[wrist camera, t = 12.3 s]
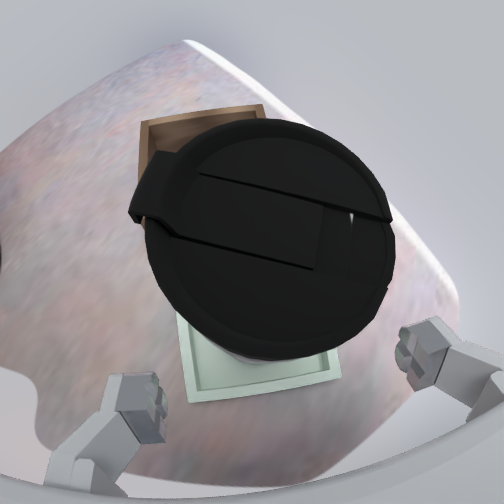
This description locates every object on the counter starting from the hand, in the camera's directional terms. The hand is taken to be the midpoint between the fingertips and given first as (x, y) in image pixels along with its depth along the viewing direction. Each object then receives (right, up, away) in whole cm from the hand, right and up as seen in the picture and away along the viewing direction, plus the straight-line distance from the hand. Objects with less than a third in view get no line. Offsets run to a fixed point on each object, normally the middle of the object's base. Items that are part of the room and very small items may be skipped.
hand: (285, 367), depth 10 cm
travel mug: (-1, -2, +16) cm, 16 cm away
